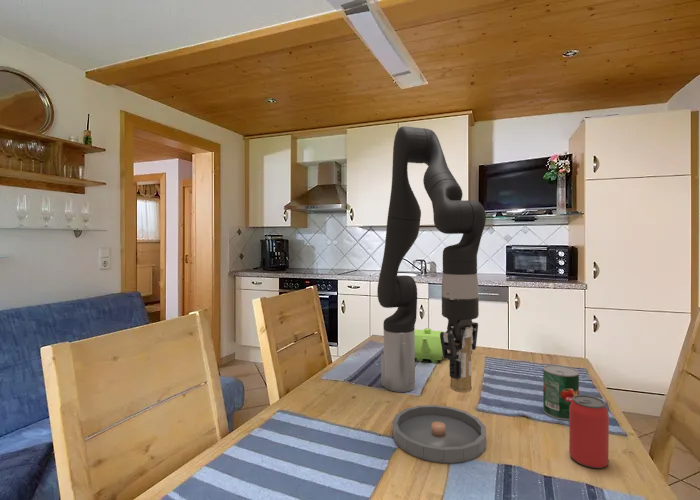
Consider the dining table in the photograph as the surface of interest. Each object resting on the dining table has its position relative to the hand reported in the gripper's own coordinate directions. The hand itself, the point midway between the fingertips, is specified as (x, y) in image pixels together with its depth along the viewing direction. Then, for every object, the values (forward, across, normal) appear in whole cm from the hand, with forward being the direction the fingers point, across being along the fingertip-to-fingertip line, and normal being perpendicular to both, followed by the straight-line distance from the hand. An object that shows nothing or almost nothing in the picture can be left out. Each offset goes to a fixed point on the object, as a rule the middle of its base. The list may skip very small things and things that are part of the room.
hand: (460, 374), depth 81 cm
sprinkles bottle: (+3, 0, 0) cm, 3 cm away
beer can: (+16, -11, +22) cm, 29 cm away
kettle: (+15, -47, -34) cm, 60 cm away
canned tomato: (+16, -30, +13) cm, 36 cm away
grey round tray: (+15, 0, -5) cm, 16 cm away
